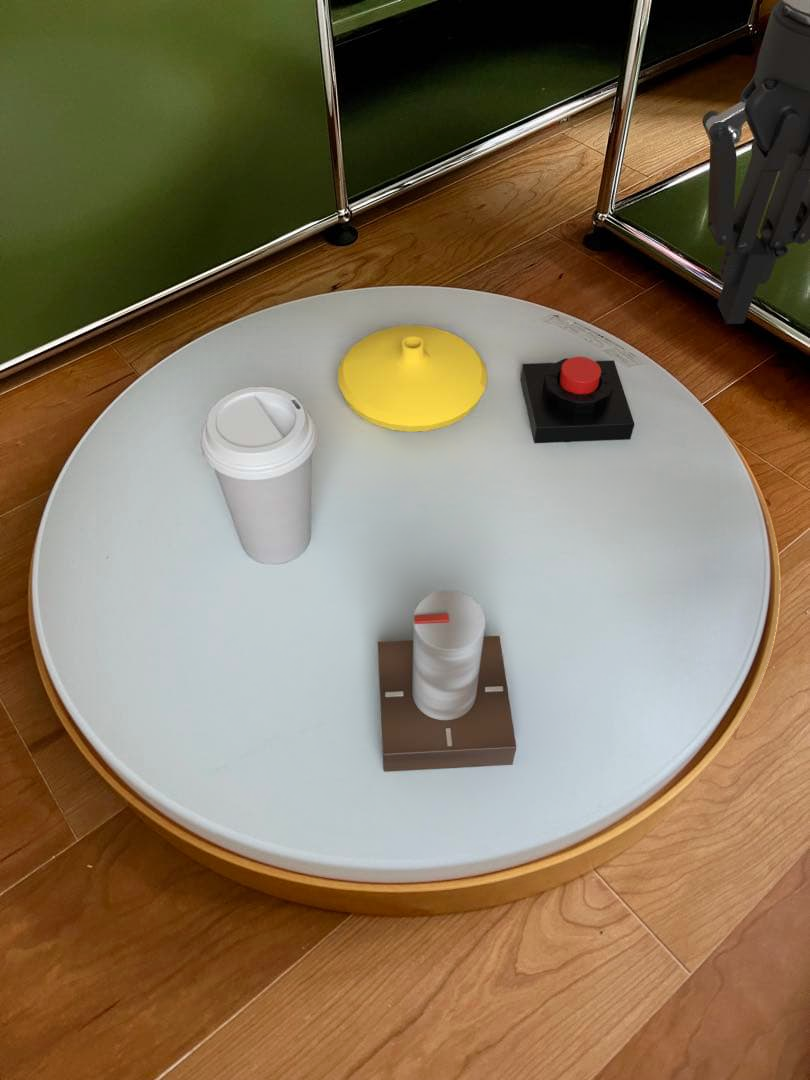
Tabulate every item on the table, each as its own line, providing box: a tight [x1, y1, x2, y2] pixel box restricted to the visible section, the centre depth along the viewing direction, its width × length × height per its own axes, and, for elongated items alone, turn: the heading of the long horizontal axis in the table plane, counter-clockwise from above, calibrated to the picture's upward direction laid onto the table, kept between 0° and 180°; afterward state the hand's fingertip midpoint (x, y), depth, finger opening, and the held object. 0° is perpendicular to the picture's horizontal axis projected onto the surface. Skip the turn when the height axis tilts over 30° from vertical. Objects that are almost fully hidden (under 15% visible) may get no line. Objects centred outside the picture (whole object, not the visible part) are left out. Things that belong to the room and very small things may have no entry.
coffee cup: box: [200, 386, 318, 565], centre depth 78 cm, size 10×10×15 cm
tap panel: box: [377, 635, 517, 773], centre depth 71 cm, size 10×10×3 cm
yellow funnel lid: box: [337, 324, 488, 433], centre depth 94 cm, size 16×16×7 cm
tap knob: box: [412, 590, 486, 720], centre depth 66 cm, size 5×5×10 cm
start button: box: [559, 356, 601, 395], centre depth 92 cm, size 4×4×2 cm
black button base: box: [519, 357, 635, 444], centre depth 94 cm, size 10×10×4 cm
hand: (730, 313), depth 76 cm, fingers closed
